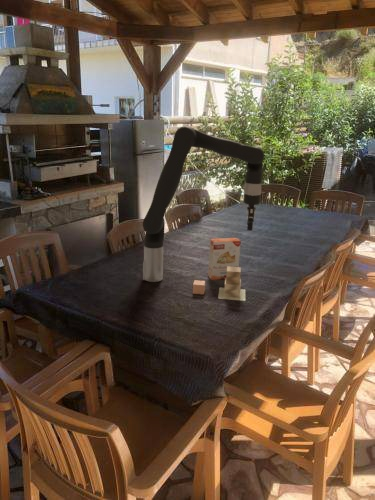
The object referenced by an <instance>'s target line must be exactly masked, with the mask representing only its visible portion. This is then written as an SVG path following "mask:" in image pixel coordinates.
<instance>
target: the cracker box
mask: <svg viewBox="0 0 375 500" xmlns="http://www.w3.org/2000/svg"><path fill="white" fill-rule="evenodd" d="M209 241H210V243H209V257H208V270H207V276H208V277H209V279H210V280H212V281H214V280H225V278H226V275H227V266H230V267H239V266H240V265H239V264H240V255H241V254H240V253H241V246H242V245H241V244H242V241H241V240H240V239H239V238H237V237H225V238H220V237H219V238H210V240H209Z"/></svg>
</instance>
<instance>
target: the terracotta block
mask: <svg viewBox="0 0 375 500" xmlns="http://www.w3.org/2000/svg"><path fill="white" fill-rule="evenodd" d="M192 286H193V287H192V294H194V295H204V294H205V291H206V280H198V279H197V280H196V279H194V280H193V284H192Z"/></svg>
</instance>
